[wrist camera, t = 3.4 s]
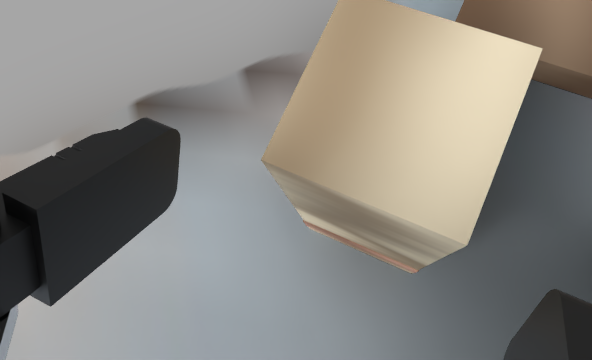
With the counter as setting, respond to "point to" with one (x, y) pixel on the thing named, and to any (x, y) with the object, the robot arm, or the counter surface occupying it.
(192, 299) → the counter surface
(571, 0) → the seat board
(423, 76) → the maple link block
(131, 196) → the robot arm
